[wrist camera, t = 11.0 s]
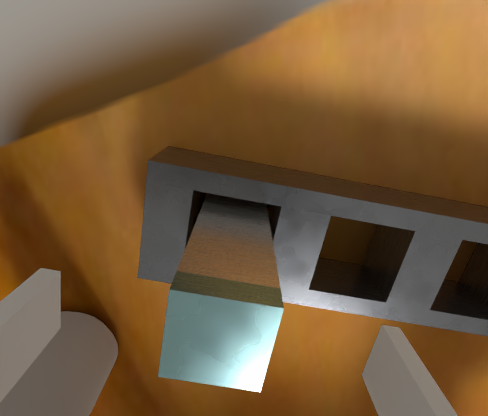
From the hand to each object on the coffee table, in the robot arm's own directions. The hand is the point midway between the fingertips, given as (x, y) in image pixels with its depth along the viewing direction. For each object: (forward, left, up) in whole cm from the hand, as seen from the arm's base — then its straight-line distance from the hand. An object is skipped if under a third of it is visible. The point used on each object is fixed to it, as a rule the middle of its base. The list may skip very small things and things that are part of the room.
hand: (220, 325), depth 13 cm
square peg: (0, 0, -13) cm, 13 cm away
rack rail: (0, -8, -13) cm, 15 cm away
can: (-15, +12, -13) cm, 23 cm away
